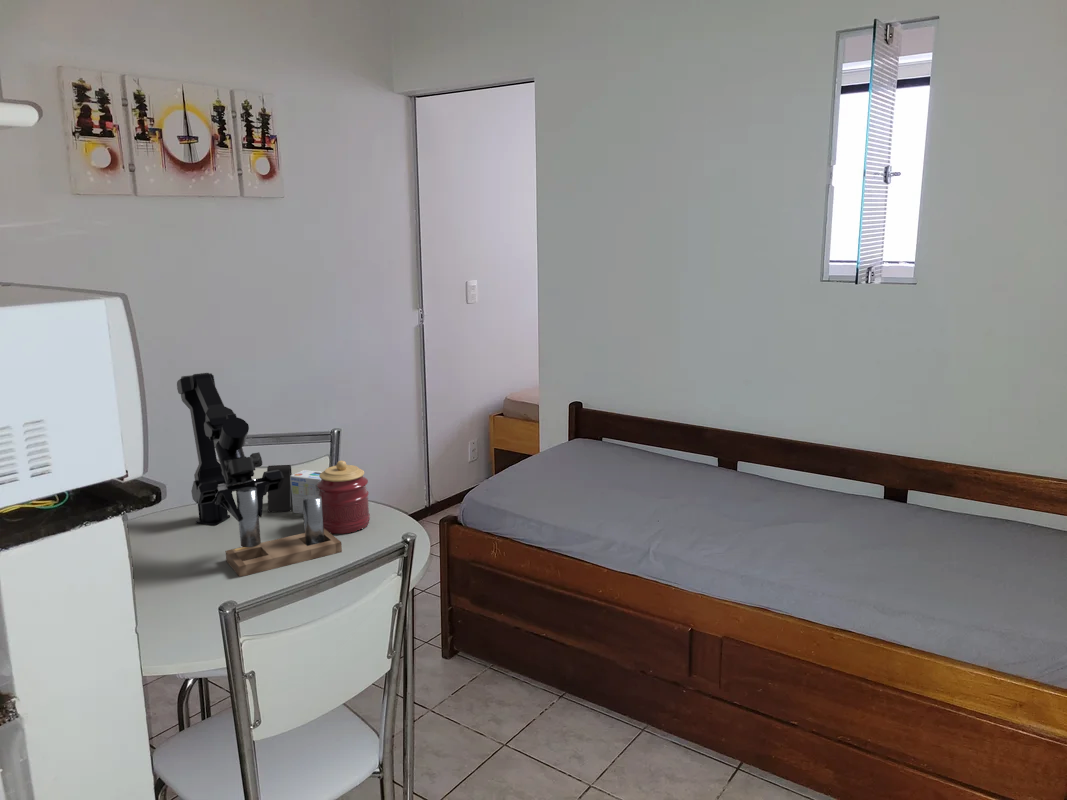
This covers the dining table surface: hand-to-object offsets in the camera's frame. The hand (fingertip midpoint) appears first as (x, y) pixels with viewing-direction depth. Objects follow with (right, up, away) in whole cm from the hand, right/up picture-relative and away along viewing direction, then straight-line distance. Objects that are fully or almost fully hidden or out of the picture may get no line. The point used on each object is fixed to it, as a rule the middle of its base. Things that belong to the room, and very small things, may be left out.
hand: (250, 518), depth 181 cm
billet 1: (-1, -6, +3) cm, 7 cm away
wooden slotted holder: (+5, -10, +8) cm, 14 cm away
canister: (+15, -6, +27) cm, 32 cm away
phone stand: (-6, -3, +42) cm, 42 cm away
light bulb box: (+4, -4, +38) cm, 38 cm away
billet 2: (+12, -9, +12) cm, 19 cm away
